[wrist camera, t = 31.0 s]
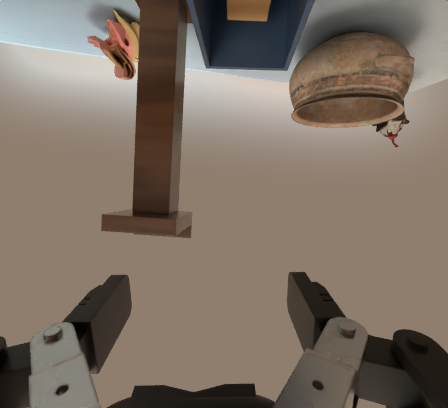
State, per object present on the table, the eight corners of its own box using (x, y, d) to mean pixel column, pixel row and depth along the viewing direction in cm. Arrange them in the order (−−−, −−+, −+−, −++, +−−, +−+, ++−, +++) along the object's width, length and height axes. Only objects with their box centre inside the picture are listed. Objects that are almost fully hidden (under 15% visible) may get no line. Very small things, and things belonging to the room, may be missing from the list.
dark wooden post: (110, -52, 29) (100, 247, 31) (189, -52, 29) (174, 253, 30) (144, 12, 40) (136, 233, 41) (203, 13, 39) (191, 237, 41)
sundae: (412, 78, 56) (405, 148, 57) (376, 83, 60) (370, 149, 60) (415, 65, 50) (408, 143, 51) (375, 71, 54) (369, 144, 55)
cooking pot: (348, -29, 30) (339, 78, 31) (476, 3, 34) (466, 98, 35) (270, 67, 55) (266, 126, 55) (349, 80, 58) (345, 134, 59)
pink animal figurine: (143, 1, 38) (165, 69, 45) (124, -1, 45) (146, 59, 51) (83, 21, 36) (116, 90, 43) (71, 16, 42) (102, 76, 49)
